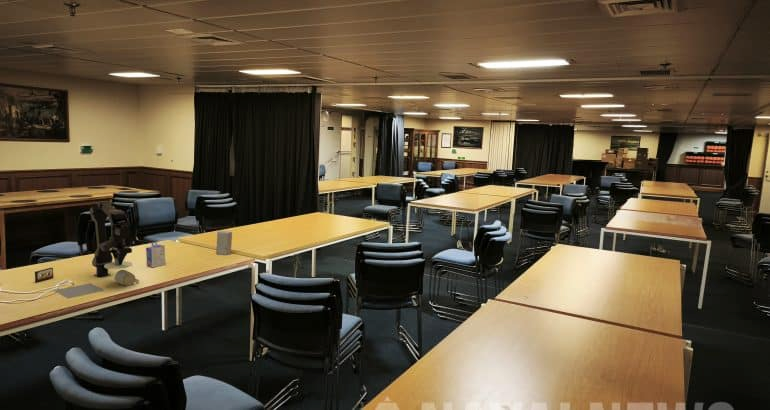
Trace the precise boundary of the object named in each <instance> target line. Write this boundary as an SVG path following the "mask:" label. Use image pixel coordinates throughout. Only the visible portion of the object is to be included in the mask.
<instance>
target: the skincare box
mask: <svg viewBox="0 0 770 410" xmlns="http://www.w3.org/2000/svg"><path fill="white" fill-rule="evenodd" d="M216 233H217V234H216V248H215V249H216V251H215V253H216V255H221V256H222V255H223V256H228V255H230V254H232V240H233V231H229V230H220V231H219V230H218V231H216Z"/></svg>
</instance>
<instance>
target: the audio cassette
mask: <svg viewBox="0 0 770 410" xmlns="http://www.w3.org/2000/svg"><path fill="white" fill-rule="evenodd" d="M54 275H55V274H54V267H48V268H43V269H40V270H37V271H34V283H42V282H46V281H49V280H52V279H54Z"/></svg>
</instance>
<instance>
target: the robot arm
mask: <svg viewBox="0 0 770 410" xmlns="http://www.w3.org/2000/svg"><path fill="white" fill-rule="evenodd" d="M89 215H90V217H91V220H92V221H93V222H94V225H95V236H96V245H97V246H96V247H97V248H96V250H95V252H94V257H93V258H92V261H91V265H92V266H93V267H94V268H96V269H95V271H96V272H95V273H96V274H93V276H95V277H97V278H104V277H108V276H109V277H111V276H112V275H111V274H110V273H109V269H107V268H105V267H104V265H105V264H108V263H112V262H113V260H114V258H118V262H119V265H121V264H122V262H123V261H125V258H126V256H127V255H128V254H130V253H131V254H132V253H133V248H131V246H130V247H129V246H127V244H126V243H125V239H128V238H129V237H131V235H132V229H130V227H128V225H129V222H130V221H129V218H128V216H127V214H126V212H125V211H123V210H122V209H116V208H115V207H114V206H113V205H112V204H110V202H109V201H107V200H105V201H104V200H103V201H99V202H98V201H97V203H96V204H94V205H92V206H91V207H90V209H89ZM107 219H108V221H109V223H110V227H111V229H110V230H111V231H110V232H111V234H110V235H111V236H110V237H109V240H107V231H106V230H107V229H106V221H107Z"/></svg>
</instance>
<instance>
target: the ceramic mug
mask: <svg viewBox="0 0 770 410" xmlns="http://www.w3.org/2000/svg"><path fill="white" fill-rule="evenodd" d="M114 282H115V283H116V284H119V285H122V286H124V287H128V286H132V285H134V283H136V284H137V283H139V279H137V278H136V276H135V274H134V273H132V272H130V271H128V270H127V269H119V270H118V271H117V272H115V275H114Z"/></svg>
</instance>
